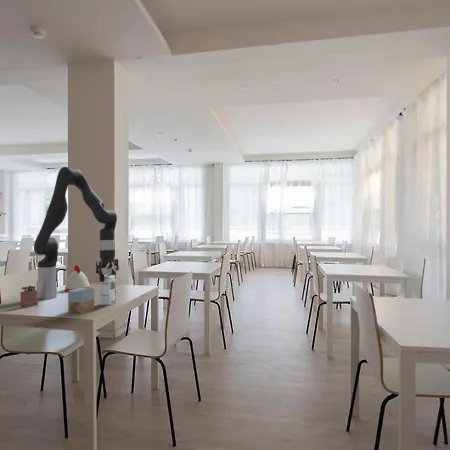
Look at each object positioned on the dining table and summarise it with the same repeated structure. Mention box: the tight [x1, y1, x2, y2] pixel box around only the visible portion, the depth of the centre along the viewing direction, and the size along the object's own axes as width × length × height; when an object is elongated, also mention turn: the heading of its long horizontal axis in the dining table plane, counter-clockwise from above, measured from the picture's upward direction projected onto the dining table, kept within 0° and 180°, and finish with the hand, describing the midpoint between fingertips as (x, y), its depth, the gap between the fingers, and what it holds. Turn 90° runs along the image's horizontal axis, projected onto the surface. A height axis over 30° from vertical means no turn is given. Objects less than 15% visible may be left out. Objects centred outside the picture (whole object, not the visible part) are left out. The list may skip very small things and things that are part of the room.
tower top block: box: [67, 287, 95, 303], centre depth 173 cm, size 8×8×5 cm
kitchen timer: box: [64, 264, 90, 292], centre depth 227 cm, size 14×14×15 cm
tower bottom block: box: [67, 298, 95, 314], centre depth 173 cm, size 8×8×5 cm
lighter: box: [19, 285, 39, 308], centre depth 183 cm, size 8×3×10 cm, turn 134°
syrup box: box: [99, 274, 117, 306], centre depth 187 cm, size 6×6×14 cm
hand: (107, 280), depth 186 cm, fingers open, 8 cm apart
